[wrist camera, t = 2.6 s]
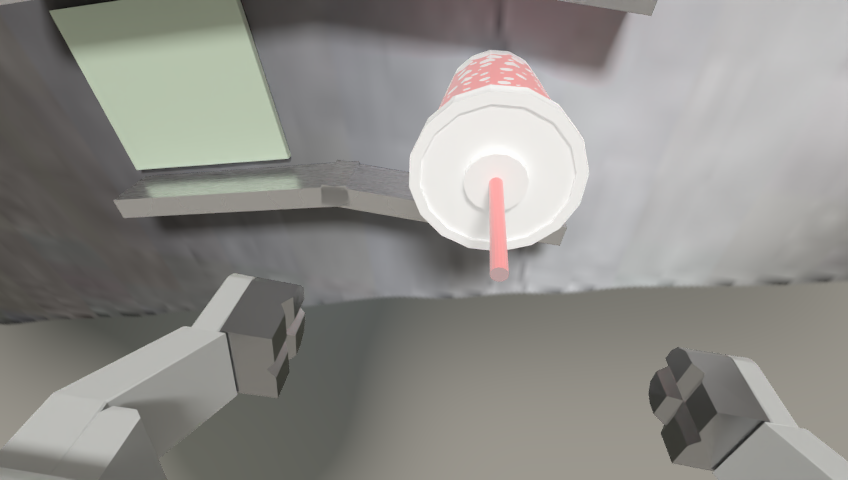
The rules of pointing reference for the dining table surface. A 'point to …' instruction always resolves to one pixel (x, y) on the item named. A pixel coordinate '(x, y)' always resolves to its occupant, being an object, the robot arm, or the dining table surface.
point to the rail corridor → (298, 180)
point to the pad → (177, 80)
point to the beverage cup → (497, 160)
